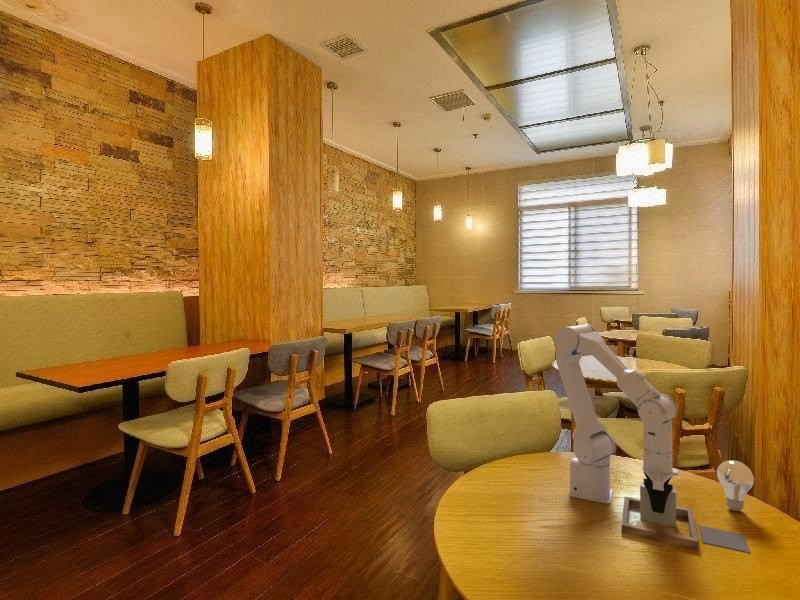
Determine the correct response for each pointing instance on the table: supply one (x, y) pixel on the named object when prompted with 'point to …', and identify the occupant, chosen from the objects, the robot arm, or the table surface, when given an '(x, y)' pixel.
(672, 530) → the offcut upper
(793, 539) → the table surface
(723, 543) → the mat
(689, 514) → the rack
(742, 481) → the light bulb
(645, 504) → the light grey slab
